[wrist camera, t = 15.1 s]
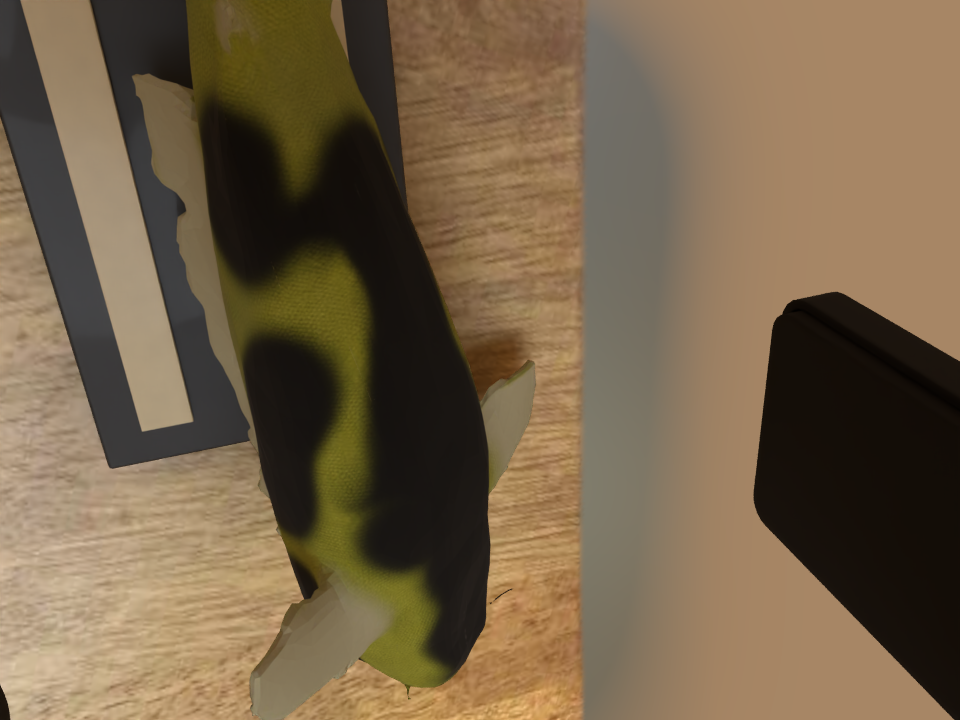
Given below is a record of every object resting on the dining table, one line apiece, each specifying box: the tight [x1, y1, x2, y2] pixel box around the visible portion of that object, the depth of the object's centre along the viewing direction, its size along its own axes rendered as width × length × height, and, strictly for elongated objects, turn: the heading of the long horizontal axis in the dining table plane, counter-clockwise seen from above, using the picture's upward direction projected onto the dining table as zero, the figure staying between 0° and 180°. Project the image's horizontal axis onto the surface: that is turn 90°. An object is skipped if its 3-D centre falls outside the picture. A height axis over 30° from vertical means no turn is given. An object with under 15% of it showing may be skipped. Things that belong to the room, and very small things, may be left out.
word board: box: [0, 0, 408, 469], centre depth 20 cm, size 14×8×1 cm, turn 3°
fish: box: [132, 0, 536, 720], centre depth 17 cm, size 11×24×10 cm
